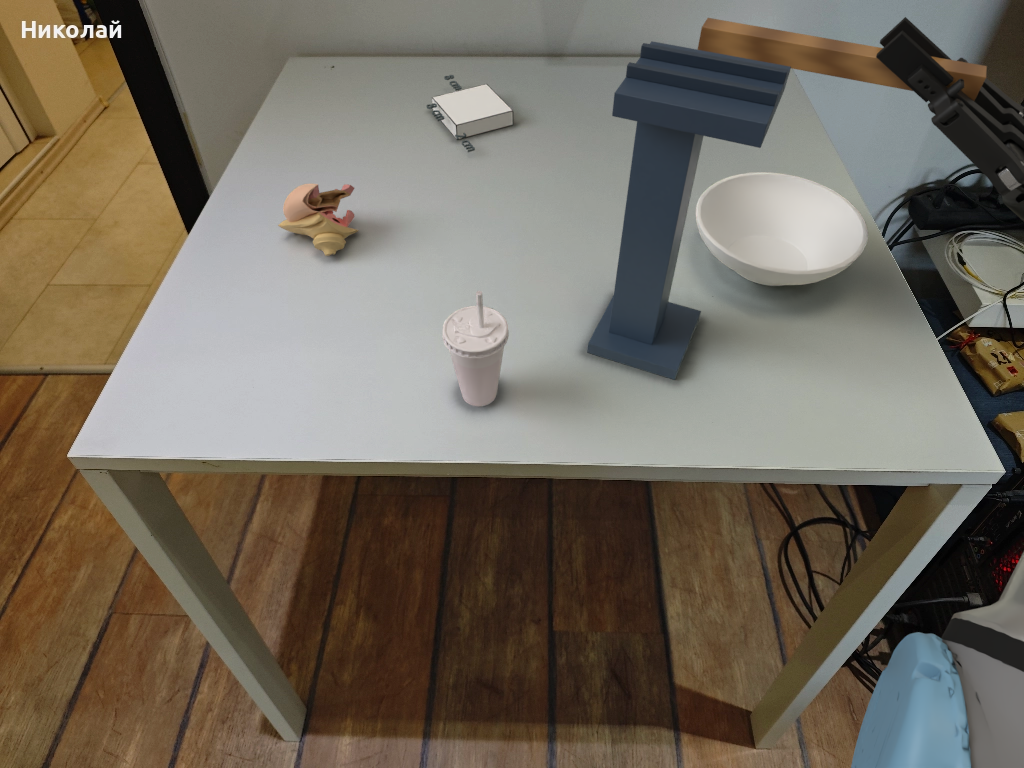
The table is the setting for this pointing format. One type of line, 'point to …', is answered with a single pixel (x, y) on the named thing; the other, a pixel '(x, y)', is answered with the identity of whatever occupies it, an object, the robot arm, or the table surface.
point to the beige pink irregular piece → (318, 216)
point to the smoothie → (476, 350)
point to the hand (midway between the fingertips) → (891, 37)
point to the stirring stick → (821, 55)
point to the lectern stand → (673, 186)
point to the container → (471, 111)
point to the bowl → (780, 228)
